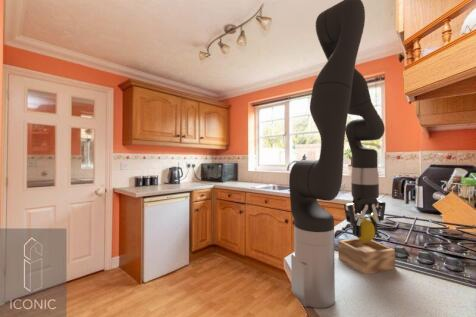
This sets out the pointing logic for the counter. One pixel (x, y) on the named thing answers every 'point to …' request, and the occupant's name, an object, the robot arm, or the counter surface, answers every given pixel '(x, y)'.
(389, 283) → the counter surface
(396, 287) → the counter surface
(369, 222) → the lemon
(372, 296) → the counter surface
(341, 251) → the oak box
